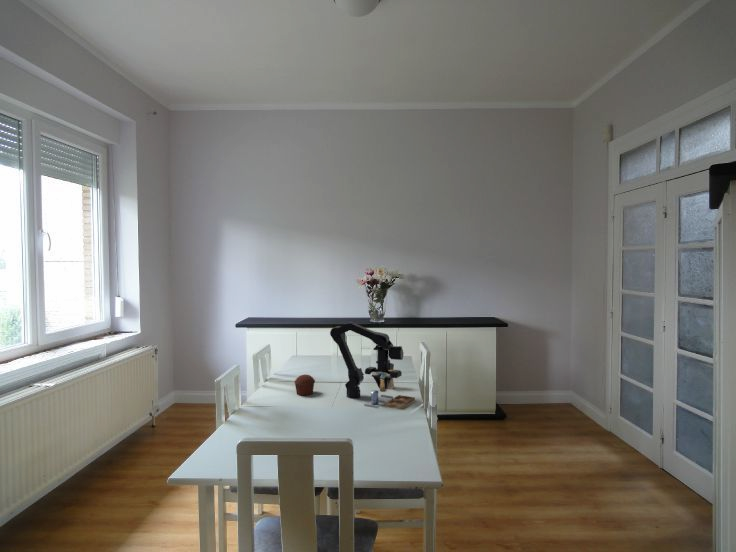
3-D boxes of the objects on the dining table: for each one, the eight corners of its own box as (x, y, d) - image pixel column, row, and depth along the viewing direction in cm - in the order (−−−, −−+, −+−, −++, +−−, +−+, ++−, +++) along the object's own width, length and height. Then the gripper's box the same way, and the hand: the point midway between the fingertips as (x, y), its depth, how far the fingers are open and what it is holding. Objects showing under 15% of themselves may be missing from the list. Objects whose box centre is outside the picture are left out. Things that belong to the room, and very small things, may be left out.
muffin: (311, 397, 243) (310, 378, 242) (291, 396, 245) (291, 377, 245) (317, 390, 254) (317, 373, 254) (299, 389, 257) (298, 372, 256)
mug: (378, 386, 262) (378, 368, 262) (394, 385, 263) (394, 367, 263) (380, 392, 250) (380, 373, 250) (397, 391, 251) (397, 372, 251)
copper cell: (378, 391, 234) (378, 377, 234) (381, 389, 237) (381, 376, 237) (384, 392, 232) (384, 378, 232) (387, 390, 235) (387, 376, 235)
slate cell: (369, 404, 227) (369, 390, 227) (373, 402, 230) (373, 389, 230) (376, 405, 225) (376, 391, 225) (379, 403, 228) (379, 390, 228)
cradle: (364, 407, 225) (363, 403, 225) (381, 397, 241) (381, 394, 241) (376, 409, 222) (376, 406, 222) (393, 399, 237) (393, 396, 237)
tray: (384, 408, 224) (384, 403, 224) (399, 399, 238) (399, 394, 238) (401, 411, 219) (401, 406, 219) (415, 401, 233) (414, 397, 233)
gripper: (406, 357, 236) (406, 387, 237) (374, 354, 246) (375, 382, 246) (396, 361, 227) (396, 392, 227) (364, 358, 236) (364, 387, 237)
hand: (383, 388), depth 235 cm, fingers closed on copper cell, 4 cm apart
